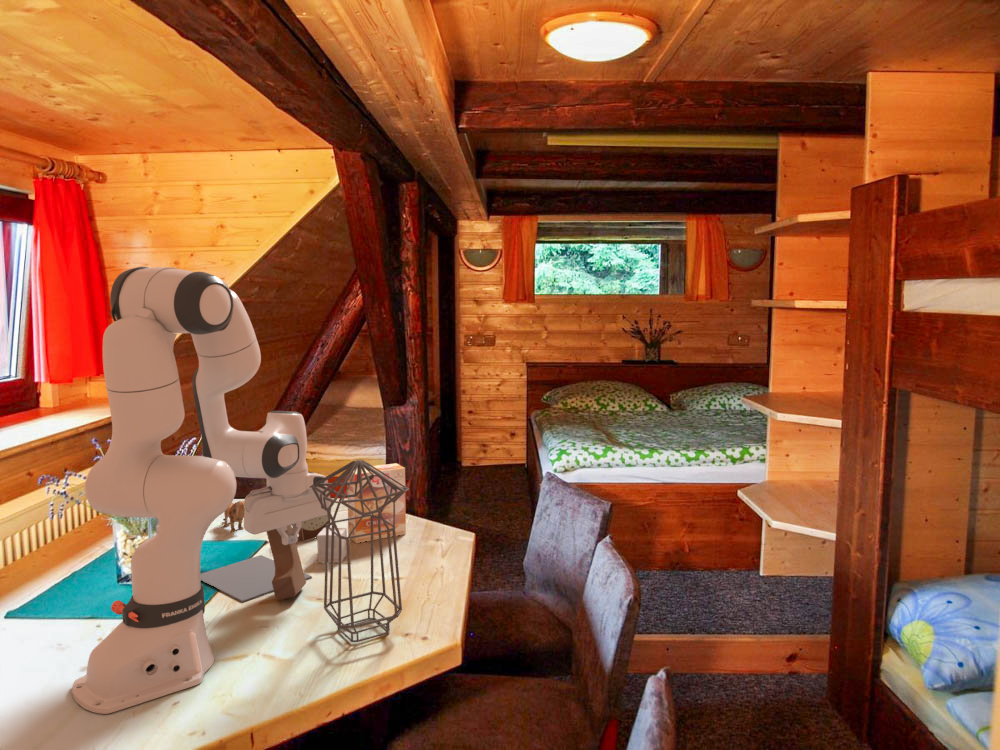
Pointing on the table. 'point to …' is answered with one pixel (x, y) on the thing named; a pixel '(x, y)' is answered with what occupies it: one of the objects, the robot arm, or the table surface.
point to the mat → (244, 578)
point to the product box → (322, 545)
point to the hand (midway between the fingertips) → (289, 543)
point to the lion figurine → (235, 514)
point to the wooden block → (285, 566)
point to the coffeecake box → (400, 507)
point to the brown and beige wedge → (312, 527)
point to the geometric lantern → (348, 472)
